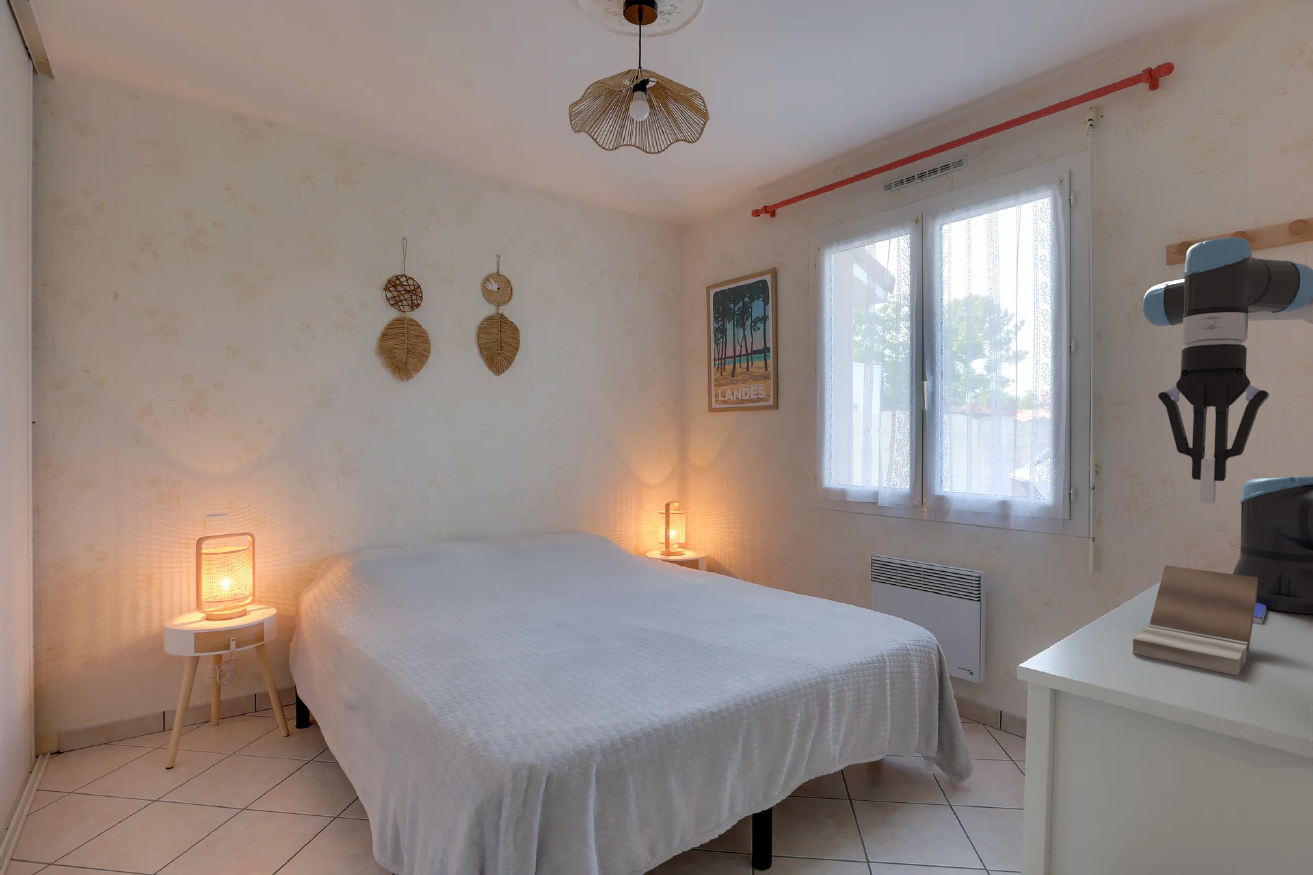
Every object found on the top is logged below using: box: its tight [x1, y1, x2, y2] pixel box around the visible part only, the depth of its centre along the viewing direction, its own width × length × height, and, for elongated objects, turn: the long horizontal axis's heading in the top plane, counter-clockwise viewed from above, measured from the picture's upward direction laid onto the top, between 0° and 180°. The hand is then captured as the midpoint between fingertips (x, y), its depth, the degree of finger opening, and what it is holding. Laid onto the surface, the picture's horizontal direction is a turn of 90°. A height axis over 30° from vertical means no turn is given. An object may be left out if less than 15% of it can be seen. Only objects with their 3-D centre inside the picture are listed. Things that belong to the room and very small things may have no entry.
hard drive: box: [1253, 603, 1267, 624], centre depth 115 cm, size 2×8×12 cm
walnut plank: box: [1149, 564, 1258, 653], centre depth 99 cm, size 13×11×2 cm
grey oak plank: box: [1132, 623, 1248, 677], centre depth 91 cm, size 10×11×2 cm
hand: (1207, 502), depth 100 cm, fingers closed
